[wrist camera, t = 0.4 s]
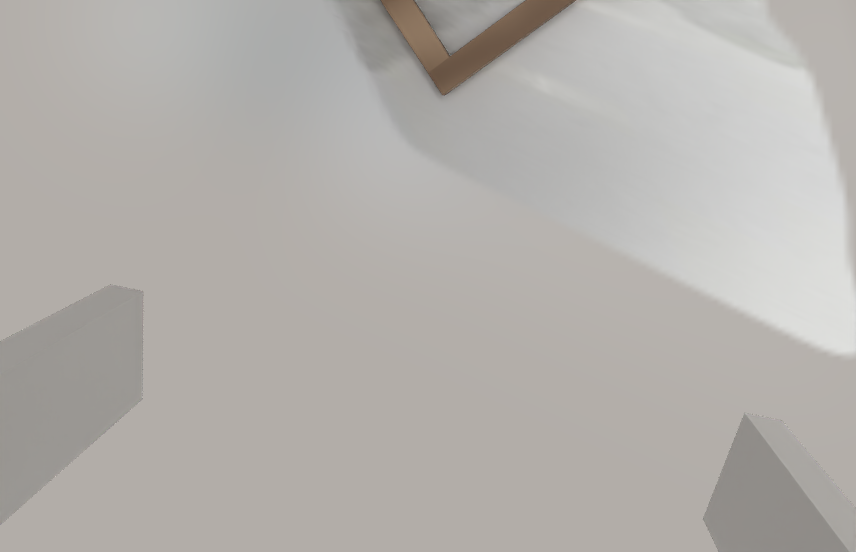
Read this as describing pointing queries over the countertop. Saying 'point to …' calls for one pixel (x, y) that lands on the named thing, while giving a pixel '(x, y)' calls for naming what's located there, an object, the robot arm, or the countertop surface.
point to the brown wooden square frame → (477, 53)
